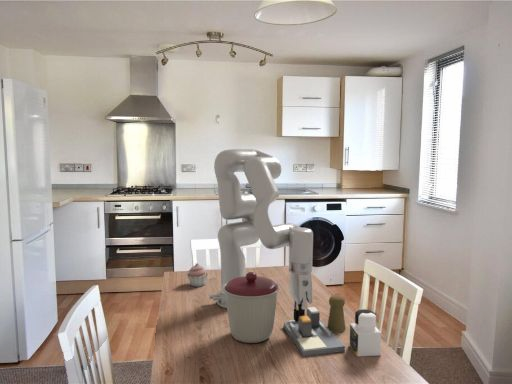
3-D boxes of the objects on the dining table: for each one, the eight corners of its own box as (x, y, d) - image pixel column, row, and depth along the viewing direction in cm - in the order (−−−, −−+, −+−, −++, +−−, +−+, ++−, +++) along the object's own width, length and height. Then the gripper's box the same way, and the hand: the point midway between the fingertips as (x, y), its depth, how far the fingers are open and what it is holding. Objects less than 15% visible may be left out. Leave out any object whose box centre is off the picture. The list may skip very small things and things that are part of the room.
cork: (345, 332, 132) (346, 300, 131) (327, 331, 133) (327, 299, 132) (345, 325, 138) (346, 294, 137) (327, 323, 139) (327, 292, 138)
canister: (216, 329, 135) (215, 267, 133) (266, 320, 142) (266, 262, 140) (234, 354, 119) (233, 284, 117) (289, 343, 125) (289, 277, 123)
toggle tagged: (302, 336, 126) (302, 321, 125) (298, 331, 129) (298, 316, 129) (311, 335, 126) (311, 320, 126) (307, 330, 130) (307, 315, 130)
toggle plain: (310, 327, 133) (310, 312, 132) (306, 322, 136) (306, 307, 136) (319, 326, 133) (319, 311, 133) (315, 321, 137) (315, 306, 137)
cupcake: (184, 283, 182) (184, 261, 181) (204, 280, 186) (204, 259, 185) (190, 289, 174) (189, 267, 173) (210, 286, 178) (210, 264, 177)
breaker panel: (303, 356, 118) (303, 348, 117) (283, 326, 137) (283, 320, 137) (344, 351, 120) (344, 343, 120) (319, 323, 140) (319, 316, 140)
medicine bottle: (349, 345, 124) (350, 307, 123) (371, 344, 125) (373, 306, 123) (357, 357, 117) (358, 317, 116) (380, 356, 117) (382, 316, 116)
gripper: (320, 272, 124) (318, 329, 126) (303, 259, 138) (302, 310, 140) (296, 274, 122) (295, 332, 124) (282, 260, 136) (281, 312, 139)
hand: (299, 320), depth 132 cm, fingers closed
